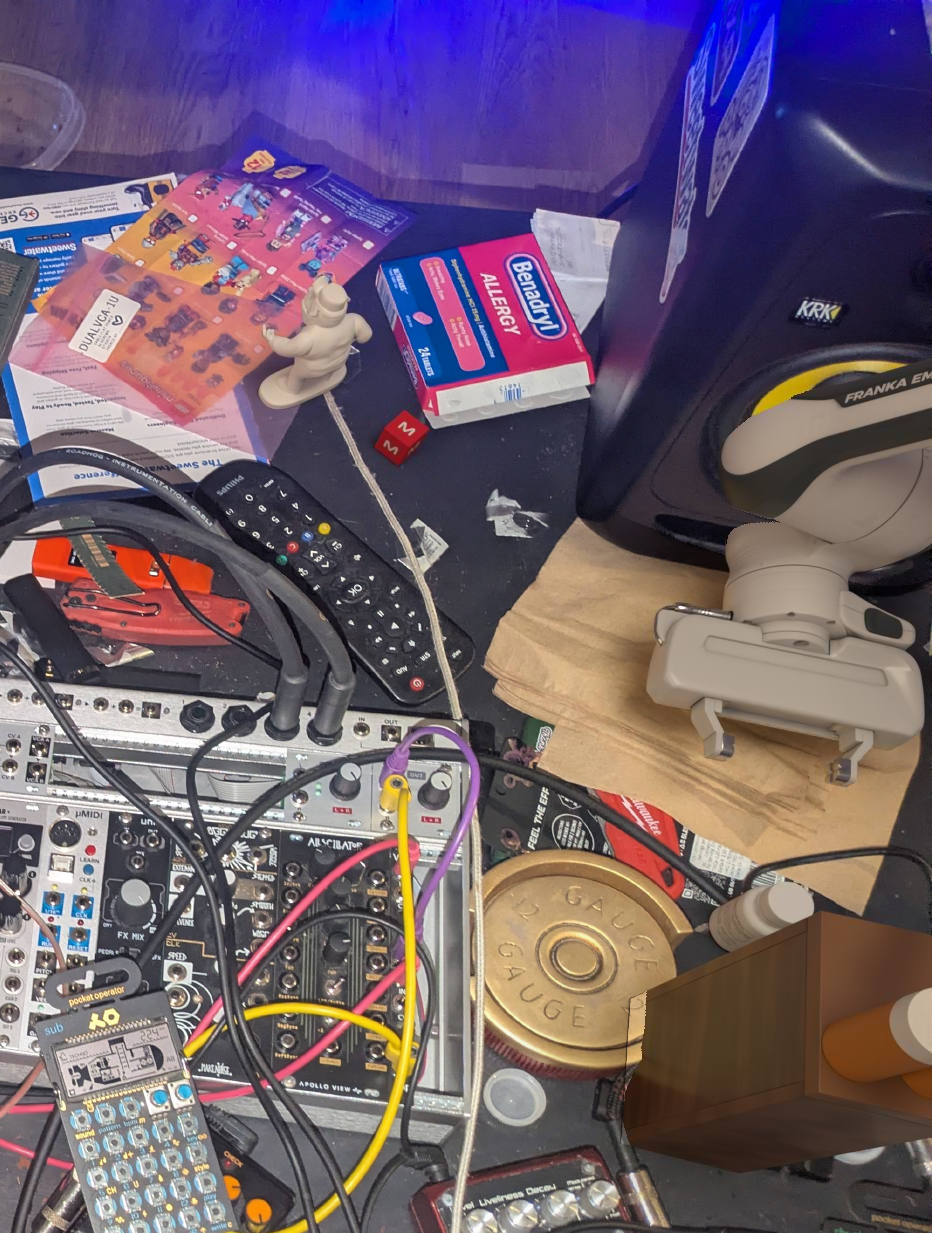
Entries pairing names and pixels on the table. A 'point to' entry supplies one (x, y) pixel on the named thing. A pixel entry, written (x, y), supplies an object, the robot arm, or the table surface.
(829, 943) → the shelf
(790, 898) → the pill bottle
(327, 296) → the figurine
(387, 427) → the dice
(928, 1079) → the amber bottle
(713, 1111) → the wooden crate
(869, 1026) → the amber bottle
